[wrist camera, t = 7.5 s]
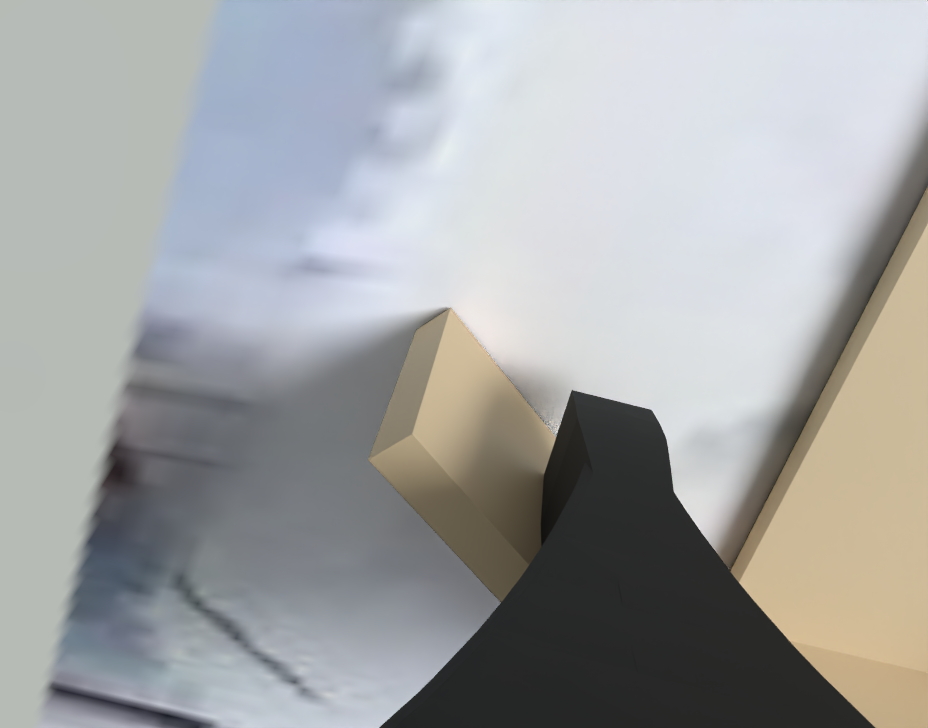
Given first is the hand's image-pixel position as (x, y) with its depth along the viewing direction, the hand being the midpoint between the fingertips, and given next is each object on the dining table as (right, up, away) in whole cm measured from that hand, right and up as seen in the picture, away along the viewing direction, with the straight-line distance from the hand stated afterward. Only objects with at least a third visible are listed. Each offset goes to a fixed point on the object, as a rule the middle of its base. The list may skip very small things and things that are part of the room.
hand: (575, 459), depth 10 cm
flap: (0, 0, +2) cm, 2 cm away
